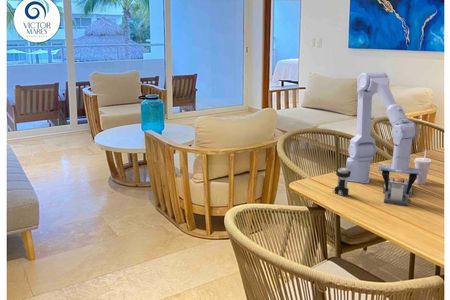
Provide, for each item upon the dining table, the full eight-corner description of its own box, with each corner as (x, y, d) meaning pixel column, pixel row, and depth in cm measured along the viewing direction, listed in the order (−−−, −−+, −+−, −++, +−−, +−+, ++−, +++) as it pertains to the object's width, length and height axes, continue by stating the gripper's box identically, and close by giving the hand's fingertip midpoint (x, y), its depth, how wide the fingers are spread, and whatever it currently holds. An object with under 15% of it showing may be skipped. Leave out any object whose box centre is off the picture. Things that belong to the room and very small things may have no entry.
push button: (328, 193, 178) (330, 168, 175) (335, 189, 182) (337, 165, 179) (344, 198, 174) (346, 172, 171) (351, 194, 178) (353, 169, 175)
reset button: (393, 186, 179) (394, 179, 179) (394, 183, 182) (394, 177, 181) (402, 187, 178) (402, 180, 178) (402, 184, 181) (403, 178, 180)
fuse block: (390, 200, 171) (391, 186, 169) (390, 197, 175) (392, 183, 173) (401, 202, 170) (403, 188, 168) (402, 198, 173) (403, 184, 172)
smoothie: (430, 186, 187) (434, 152, 183) (412, 184, 188) (417, 151, 184) (426, 180, 193) (431, 147, 189) (410, 179, 194) (414, 146, 190)
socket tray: (383, 202, 170) (384, 199, 170) (385, 195, 177) (385, 191, 177) (407, 206, 168) (407, 202, 167) (408, 198, 175) (408, 194, 174)
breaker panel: (382, 192, 180) (384, 181, 178) (385, 182, 190) (386, 172, 189) (411, 196, 176) (412, 185, 175) (411, 186, 187) (413, 175, 185)
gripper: (379, 156, 167) (375, 192, 171) (423, 161, 161) (418, 198, 165) (380, 151, 173) (377, 186, 177) (423, 156, 168) (418, 191, 172)
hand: (397, 191), depth 172 cm, fingers open, 6 cm apart
